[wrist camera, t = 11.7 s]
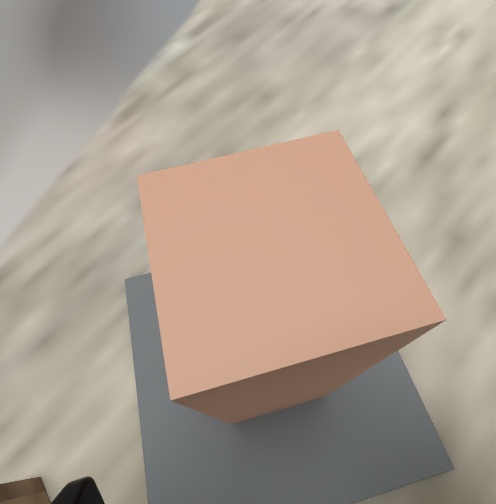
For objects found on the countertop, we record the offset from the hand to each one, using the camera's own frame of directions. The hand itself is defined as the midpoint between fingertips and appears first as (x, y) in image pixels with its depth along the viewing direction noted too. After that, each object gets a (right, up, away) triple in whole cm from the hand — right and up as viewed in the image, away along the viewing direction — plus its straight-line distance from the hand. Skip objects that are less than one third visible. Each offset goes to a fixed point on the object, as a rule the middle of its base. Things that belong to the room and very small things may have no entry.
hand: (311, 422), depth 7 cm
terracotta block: (0, -2, +11) cm, 11 cm away
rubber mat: (0, -3, +12) cm, 12 cm away
